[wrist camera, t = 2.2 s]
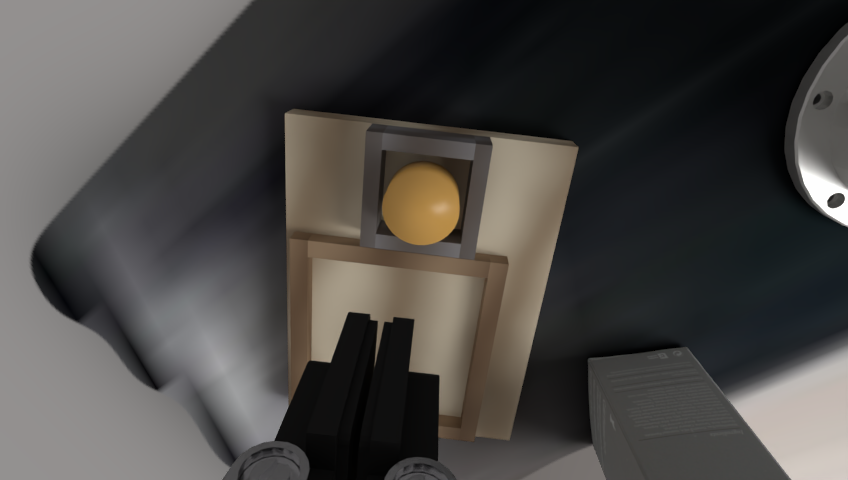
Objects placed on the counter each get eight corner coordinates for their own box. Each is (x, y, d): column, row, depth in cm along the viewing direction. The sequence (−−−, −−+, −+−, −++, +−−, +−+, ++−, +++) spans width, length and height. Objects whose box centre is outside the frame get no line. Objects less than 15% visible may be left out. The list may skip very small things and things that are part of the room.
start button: (463, 165, 23) (464, 177, 22) (454, 233, 25) (454, 249, 23) (390, 156, 24) (384, 167, 22) (385, 224, 25) (379, 240, 23)
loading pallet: (572, 140, 26) (588, 156, 23) (507, 423, 34) (512, 464, 31) (293, 108, 26) (271, 120, 23) (295, 397, 34) (278, 436, 31)
